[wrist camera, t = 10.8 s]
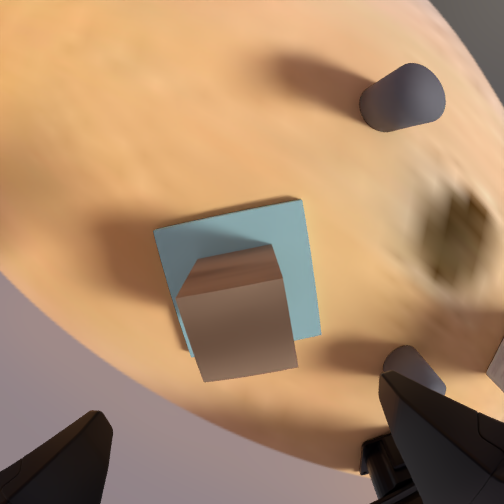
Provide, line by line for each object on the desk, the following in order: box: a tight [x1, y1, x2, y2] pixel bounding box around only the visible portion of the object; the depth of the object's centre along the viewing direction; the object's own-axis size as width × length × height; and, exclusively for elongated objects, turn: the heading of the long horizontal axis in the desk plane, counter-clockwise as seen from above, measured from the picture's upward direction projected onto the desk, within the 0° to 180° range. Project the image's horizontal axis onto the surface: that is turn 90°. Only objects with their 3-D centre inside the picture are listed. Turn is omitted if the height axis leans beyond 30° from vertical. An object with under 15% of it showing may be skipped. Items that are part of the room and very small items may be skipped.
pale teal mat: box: [153, 199, 321, 357], centre depth 19 cm, size 9×9×1 cm
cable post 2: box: [383, 345, 446, 395], centre depth 19 cm, size 3×3×5 cm
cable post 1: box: [359, 63, 446, 132], centre depth 14 cm, size 3×3×5 cm
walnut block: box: [175, 244, 298, 382], centre depth 16 cm, size 4×4×6 cm
